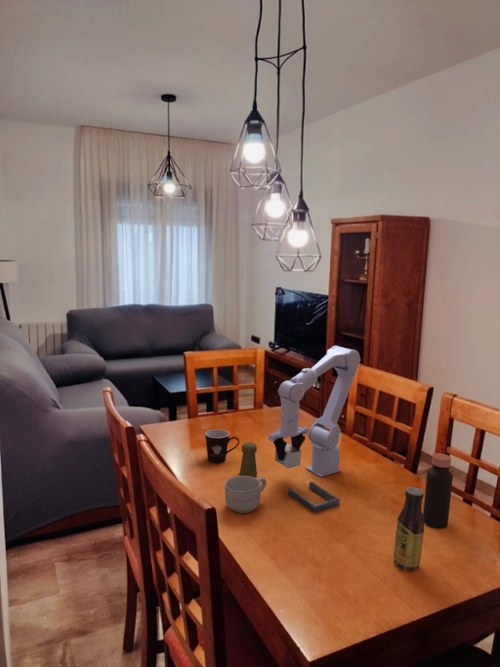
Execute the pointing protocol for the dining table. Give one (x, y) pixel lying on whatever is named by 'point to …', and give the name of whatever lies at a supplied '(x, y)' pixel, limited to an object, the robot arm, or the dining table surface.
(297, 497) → the channel bracket
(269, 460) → the dining table surface
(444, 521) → the dark water bottle
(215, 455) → the coffee mug
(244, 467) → the olive pawn piece
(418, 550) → the sauce bottle
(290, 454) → the block
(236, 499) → the teacup
